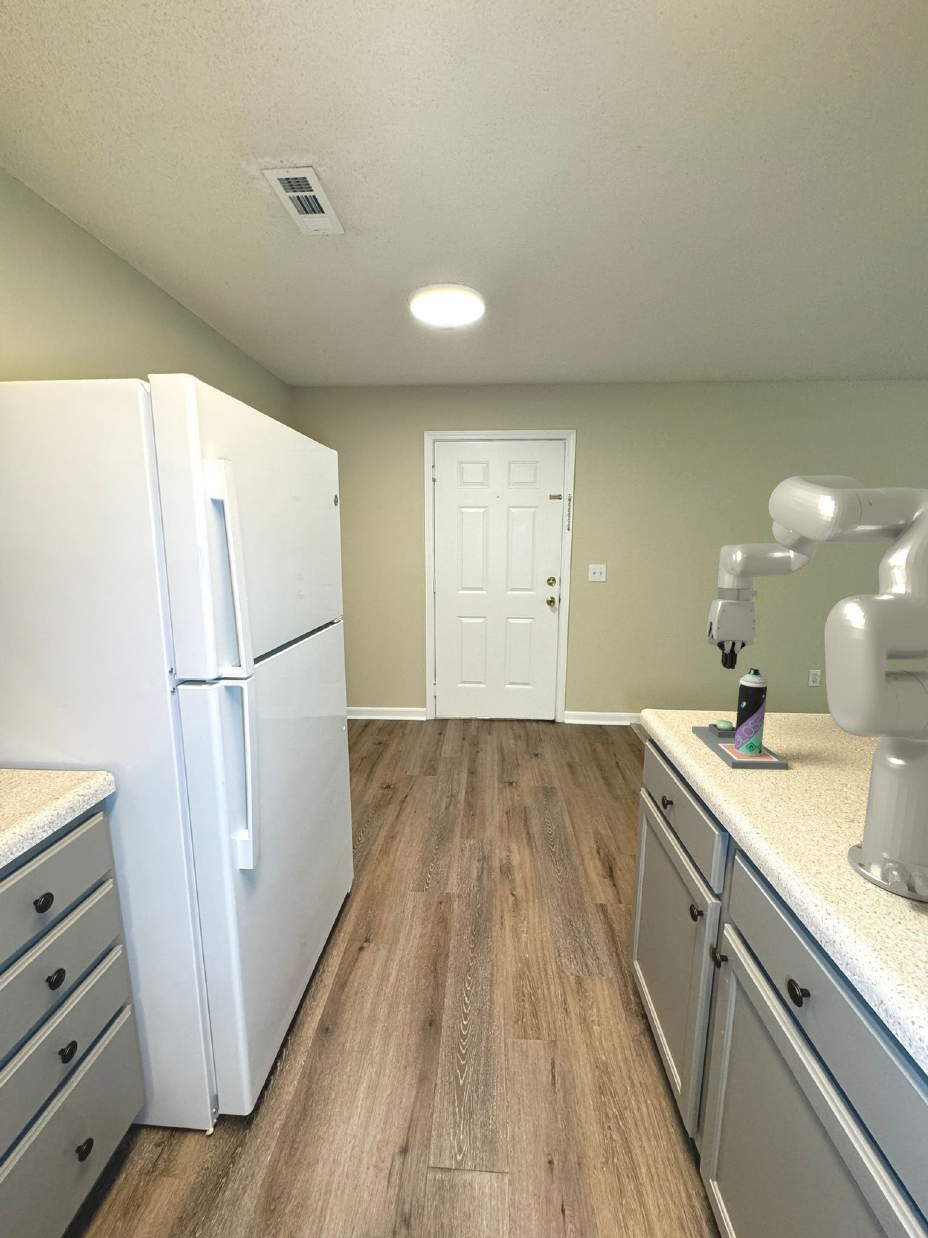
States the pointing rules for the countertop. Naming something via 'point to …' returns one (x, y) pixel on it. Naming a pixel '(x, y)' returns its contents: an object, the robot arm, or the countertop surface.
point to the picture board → (725, 750)
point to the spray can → (750, 714)
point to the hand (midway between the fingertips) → (728, 667)
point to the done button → (724, 725)
